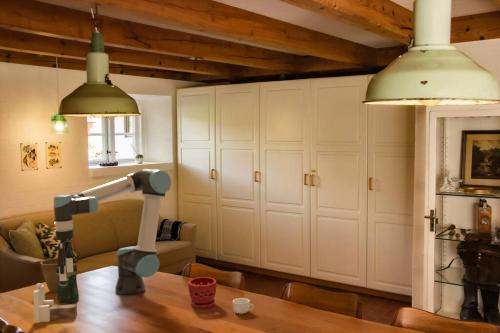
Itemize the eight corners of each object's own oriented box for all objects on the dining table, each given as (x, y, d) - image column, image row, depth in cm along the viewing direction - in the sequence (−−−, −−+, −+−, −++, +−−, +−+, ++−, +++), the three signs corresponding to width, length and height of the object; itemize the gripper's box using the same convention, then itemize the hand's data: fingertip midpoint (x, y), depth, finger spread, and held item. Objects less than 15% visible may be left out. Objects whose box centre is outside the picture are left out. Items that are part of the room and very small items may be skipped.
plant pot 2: (183, 306, 240) (182, 281, 239) (204, 299, 250) (203, 275, 249) (201, 312, 231) (201, 286, 230) (222, 304, 241) (221, 280, 240)
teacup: (230, 314, 228) (230, 302, 228) (236, 308, 235) (236, 297, 235) (251, 316, 224) (250, 304, 224) (256, 310, 232) (256, 299, 231)
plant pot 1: (77, 288, 271) (76, 259, 270) (54, 296, 259) (52, 265, 257) (60, 284, 279) (58, 256, 278) (36, 292, 267) (34, 262, 265)
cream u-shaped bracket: (54, 314, 233) (53, 279, 232) (49, 322, 223) (47, 285, 222) (40, 315, 232) (38, 280, 231) (34, 323, 222) (32, 286, 221)
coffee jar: (81, 298, 254) (79, 262, 253) (72, 304, 246) (71, 266, 245) (64, 298, 256) (62, 261, 255) (55, 303, 248) (53, 266, 247)
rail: (77, 315, 231) (76, 303, 231) (75, 318, 227) (74, 307, 227) (44, 317, 230) (44, 305, 229) (42, 320, 226) (41, 309, 225)
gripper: (62, 225, 238) (64, 269, 240) (48, 235, 214) (50, 285, 215) (78, 224, 239) (81, 268, 241) (66, 234, 215) (69, 284, 216)
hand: (66, 276), depth 228 cm, fingers open, 13 cm apart
